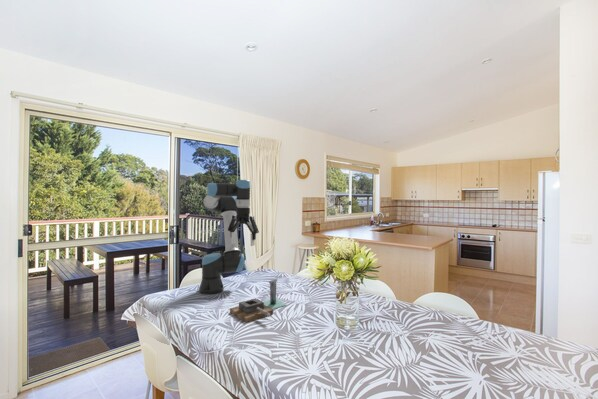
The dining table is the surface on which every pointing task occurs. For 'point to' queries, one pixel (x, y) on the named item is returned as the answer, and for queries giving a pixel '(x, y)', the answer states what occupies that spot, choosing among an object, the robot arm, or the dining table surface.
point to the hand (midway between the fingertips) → (242, 244)
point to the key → (273, 291)
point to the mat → (277, 305)
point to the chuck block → (251, 310)
